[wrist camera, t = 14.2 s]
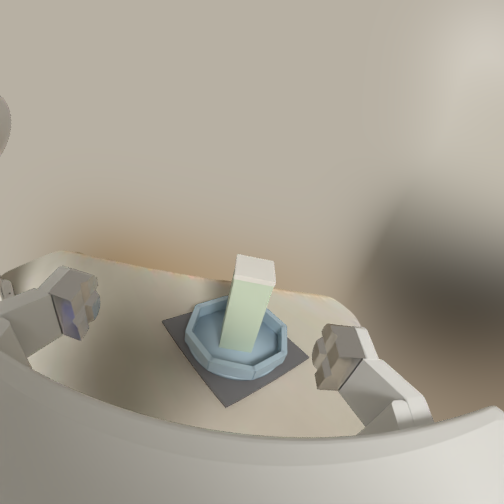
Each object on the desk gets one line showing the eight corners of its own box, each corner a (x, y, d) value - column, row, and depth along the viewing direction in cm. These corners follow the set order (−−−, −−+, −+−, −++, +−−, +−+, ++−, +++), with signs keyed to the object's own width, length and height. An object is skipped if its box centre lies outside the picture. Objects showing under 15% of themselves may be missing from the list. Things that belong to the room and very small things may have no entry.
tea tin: (218, 347, 44) (234, 274, 37) (221, 324, 49) (237, 253, 42) (251, 353, 44) (275, 282, 37) (252, 330, 49) (273, 261, 42)
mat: (162, 322, 47) (162, 320, 47) (242, 297, 59) (242, 296, 59) (225, 407, 35) (226, 406, 35) (308, 358, 47) (309, 357, 47)
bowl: (170, 324, 47) (170, 311, 45) (243, 300, 58) (246, 289, 56) (225, 397, 36) (228, 386, 35) (300, 354, 47) (306, 342, 46)
